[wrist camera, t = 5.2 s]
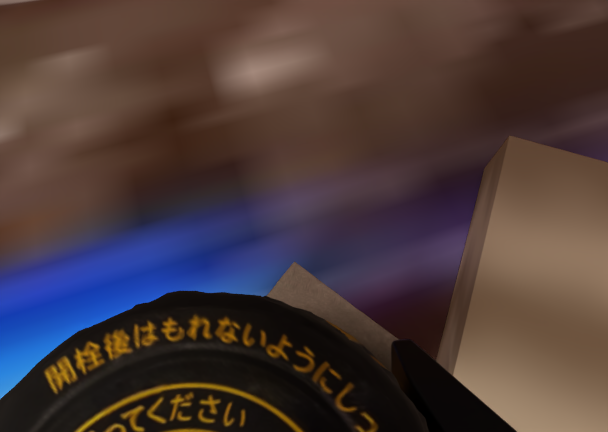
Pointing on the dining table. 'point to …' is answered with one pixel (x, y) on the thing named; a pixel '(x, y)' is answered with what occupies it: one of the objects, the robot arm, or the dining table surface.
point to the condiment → (220, 368)
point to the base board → (535, 291)
